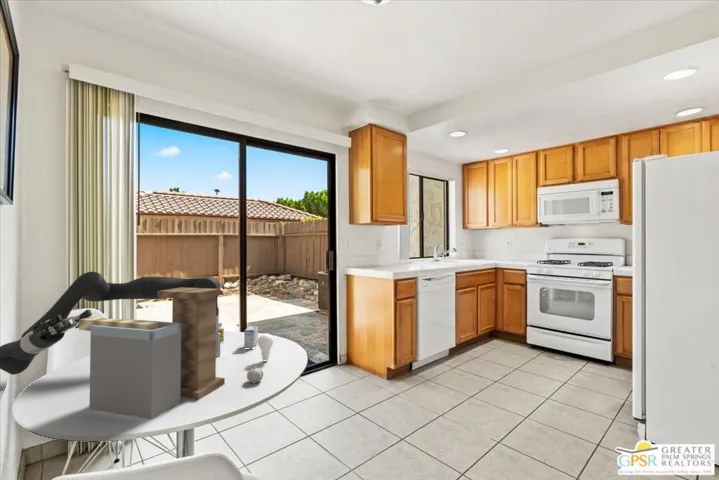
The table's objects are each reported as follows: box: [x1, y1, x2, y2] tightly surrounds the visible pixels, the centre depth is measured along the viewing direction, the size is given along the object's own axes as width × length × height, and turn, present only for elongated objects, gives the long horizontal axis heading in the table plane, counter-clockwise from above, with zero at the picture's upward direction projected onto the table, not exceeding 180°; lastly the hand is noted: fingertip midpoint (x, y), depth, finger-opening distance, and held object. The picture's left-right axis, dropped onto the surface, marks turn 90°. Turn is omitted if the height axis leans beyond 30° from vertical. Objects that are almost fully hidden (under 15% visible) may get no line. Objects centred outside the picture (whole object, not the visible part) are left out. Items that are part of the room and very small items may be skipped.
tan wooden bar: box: [78, 316, 158, 332], centre depth 101 cm, size 26×3×3 cm, turn 75°
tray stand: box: [89, 318, 181, 420], centre depth 99 cm, size 22×10×24 cm, turn 75°
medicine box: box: [243, 325, 259, 349], centre depth 156 cm, size 8×4×9 cm, turn 5°
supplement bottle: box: [219, 321, 225, 344], centre depth 163 cm, size 5×5×10 cm
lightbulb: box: [257, 333, 275, 361], centre depth 136 cm, size 6×6×11 cm
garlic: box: [246, 365, 264, 384], centre depth 116 cm, size 6×5×5 cm
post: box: [157, 287, 226, 401], centre depth 111 cm, size 18×12×32 cm, turn 75°
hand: (75, 314), depth 105 cm, fingers open, 8 cm apart
